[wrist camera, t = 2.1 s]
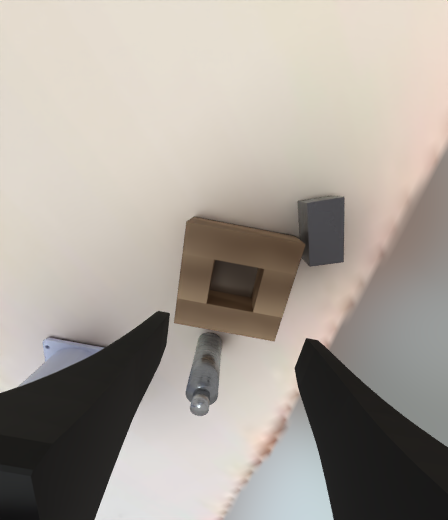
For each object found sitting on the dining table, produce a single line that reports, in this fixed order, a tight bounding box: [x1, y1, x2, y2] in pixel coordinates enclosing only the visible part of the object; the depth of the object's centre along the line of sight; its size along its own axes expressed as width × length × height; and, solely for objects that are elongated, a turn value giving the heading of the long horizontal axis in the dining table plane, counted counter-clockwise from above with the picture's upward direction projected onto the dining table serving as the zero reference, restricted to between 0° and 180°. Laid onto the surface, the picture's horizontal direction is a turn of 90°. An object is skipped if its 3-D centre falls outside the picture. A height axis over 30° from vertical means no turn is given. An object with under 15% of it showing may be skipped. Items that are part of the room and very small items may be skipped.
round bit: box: [186, 333, 222, 416], centre depth 19 cm, size 3×3×7 cm
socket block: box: [174, 217, 306, 341], centre depth 18 cm, size 9×9×3 cm
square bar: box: [298, 196, 344, 266], centre depth 17 cm, size 5×3×3 cm, turn 9°
